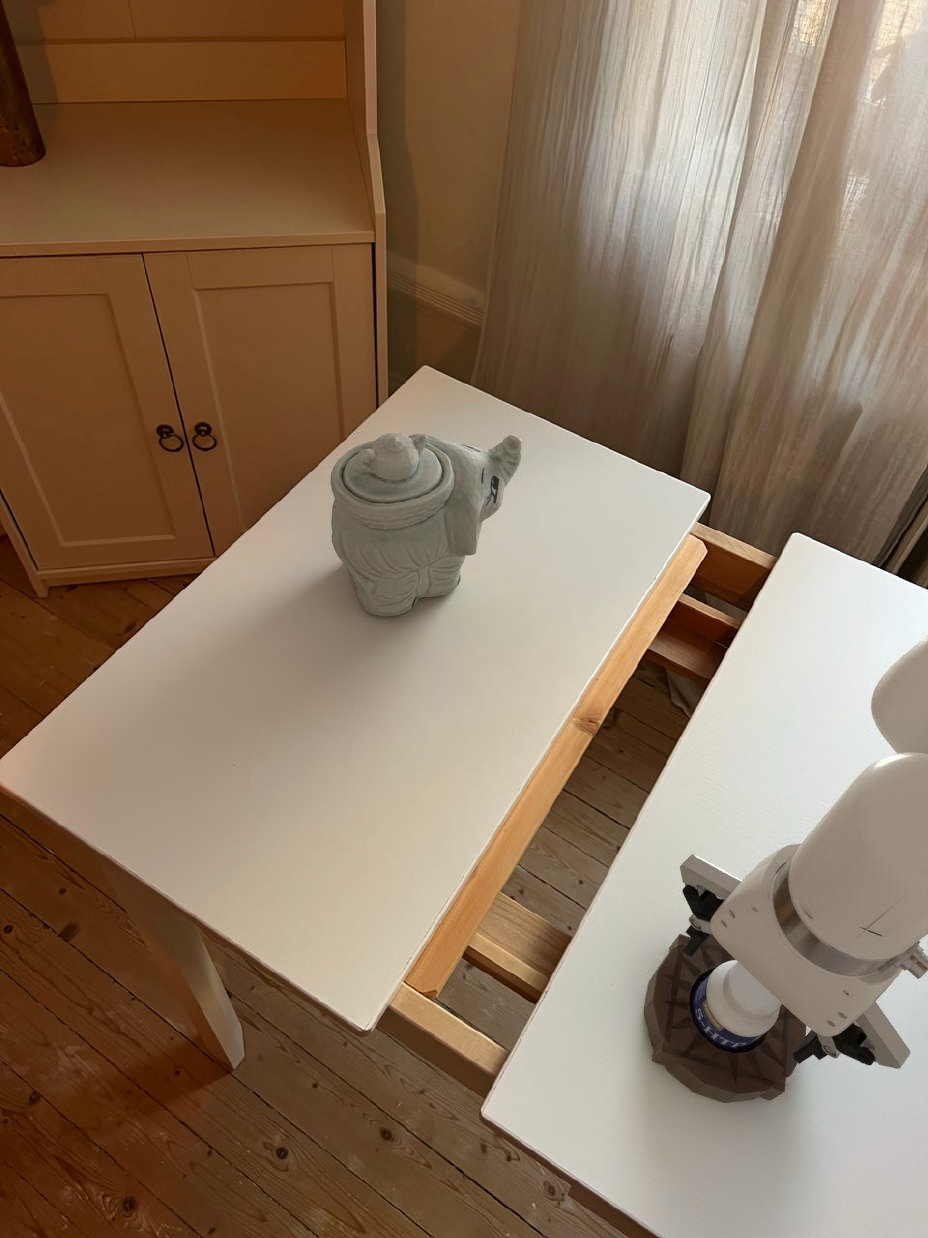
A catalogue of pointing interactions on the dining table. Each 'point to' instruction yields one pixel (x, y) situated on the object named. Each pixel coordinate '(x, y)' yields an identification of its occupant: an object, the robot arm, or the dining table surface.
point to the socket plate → (696, 1055)
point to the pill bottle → (733, 1008)
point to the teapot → (414, 513)
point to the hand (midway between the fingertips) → (751, 991)
